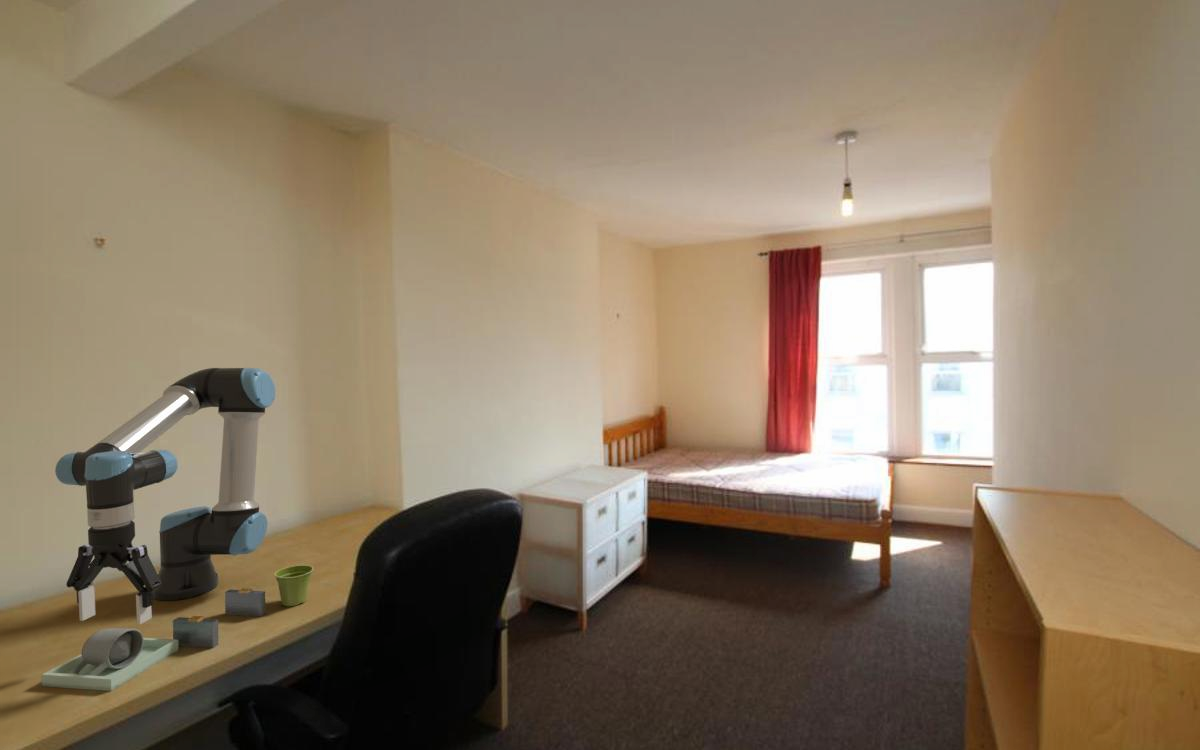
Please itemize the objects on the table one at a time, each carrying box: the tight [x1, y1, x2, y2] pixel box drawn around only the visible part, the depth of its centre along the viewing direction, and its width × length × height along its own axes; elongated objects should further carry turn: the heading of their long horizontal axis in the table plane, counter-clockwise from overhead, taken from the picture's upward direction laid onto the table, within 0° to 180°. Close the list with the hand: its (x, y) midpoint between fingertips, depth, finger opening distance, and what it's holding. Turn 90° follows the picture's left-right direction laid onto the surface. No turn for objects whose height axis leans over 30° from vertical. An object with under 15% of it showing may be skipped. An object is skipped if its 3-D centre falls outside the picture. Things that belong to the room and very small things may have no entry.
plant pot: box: [274, 564, 314, 607], centre depth 150 cm, size 9×9×9 cm
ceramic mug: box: [72, 627, 144, 676], centre depth 116 cm, size 11×8×8 cm
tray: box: [41, 637, 179, 692], centre depth 118 cm, size 16×16×2 cm
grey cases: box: [172, 587, 266, 649], centre depth 135 cm, size 10×17×6 cm, turn 175°
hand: (115, 619), depth 118 cm, fingers open, 13 cm apart
